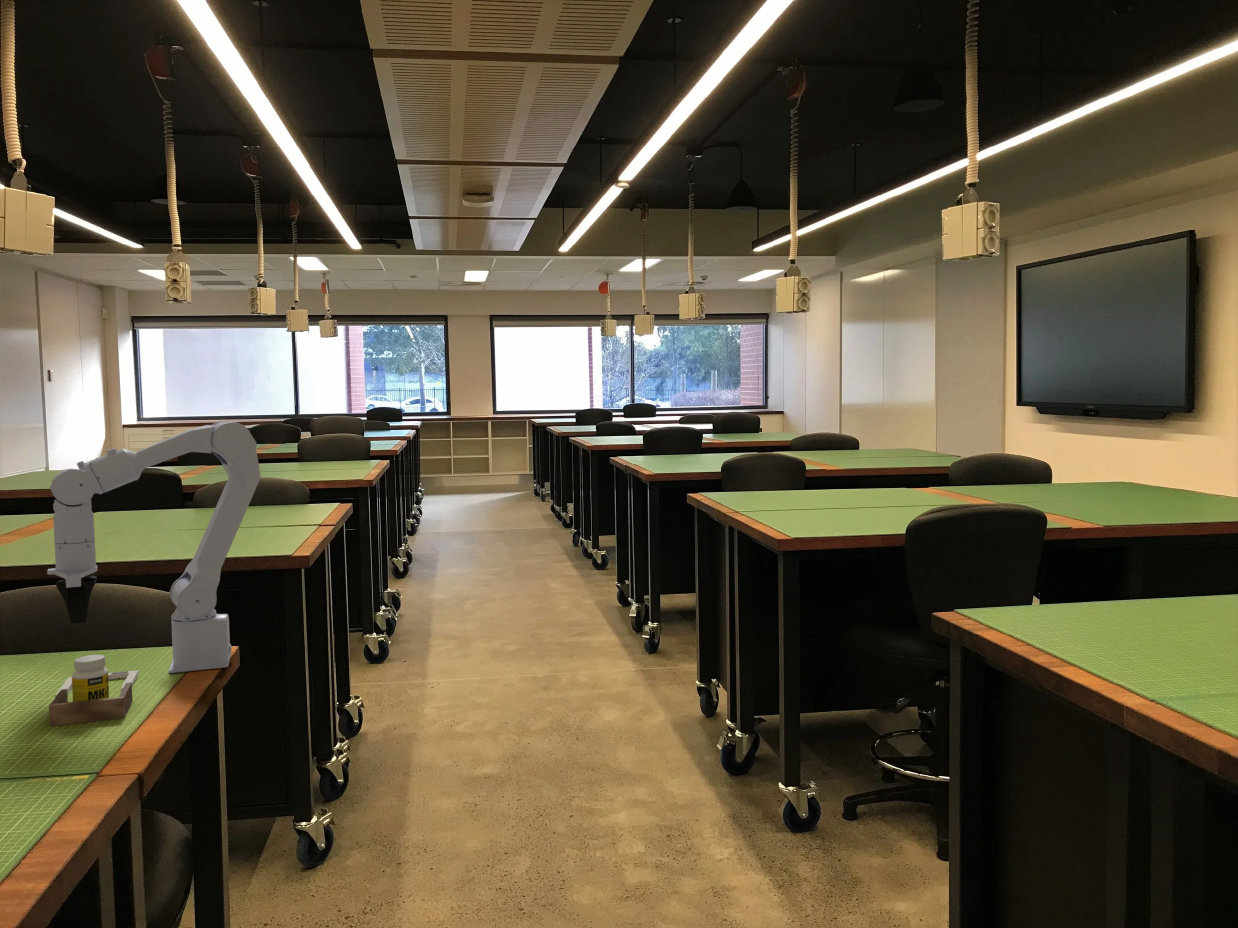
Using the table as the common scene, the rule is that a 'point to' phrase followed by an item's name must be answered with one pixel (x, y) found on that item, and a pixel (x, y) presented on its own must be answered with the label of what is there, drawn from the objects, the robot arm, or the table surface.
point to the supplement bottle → (90, 678)
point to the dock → (128, 675)
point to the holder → (89, 708)
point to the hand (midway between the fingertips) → (78, 622)
